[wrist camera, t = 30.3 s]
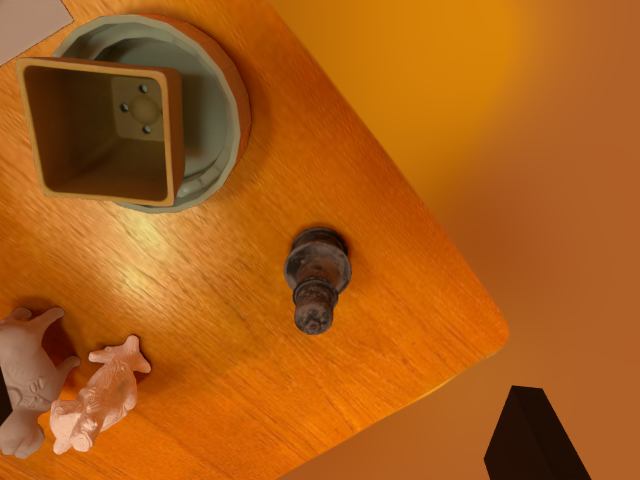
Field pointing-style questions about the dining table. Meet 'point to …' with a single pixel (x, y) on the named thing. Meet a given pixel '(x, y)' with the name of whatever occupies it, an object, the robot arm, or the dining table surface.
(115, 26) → the bowl
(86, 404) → the pink animal figurine
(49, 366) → the dog figurine
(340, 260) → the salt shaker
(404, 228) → the dining table surface
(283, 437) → the dining table surface
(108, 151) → the flower pot
